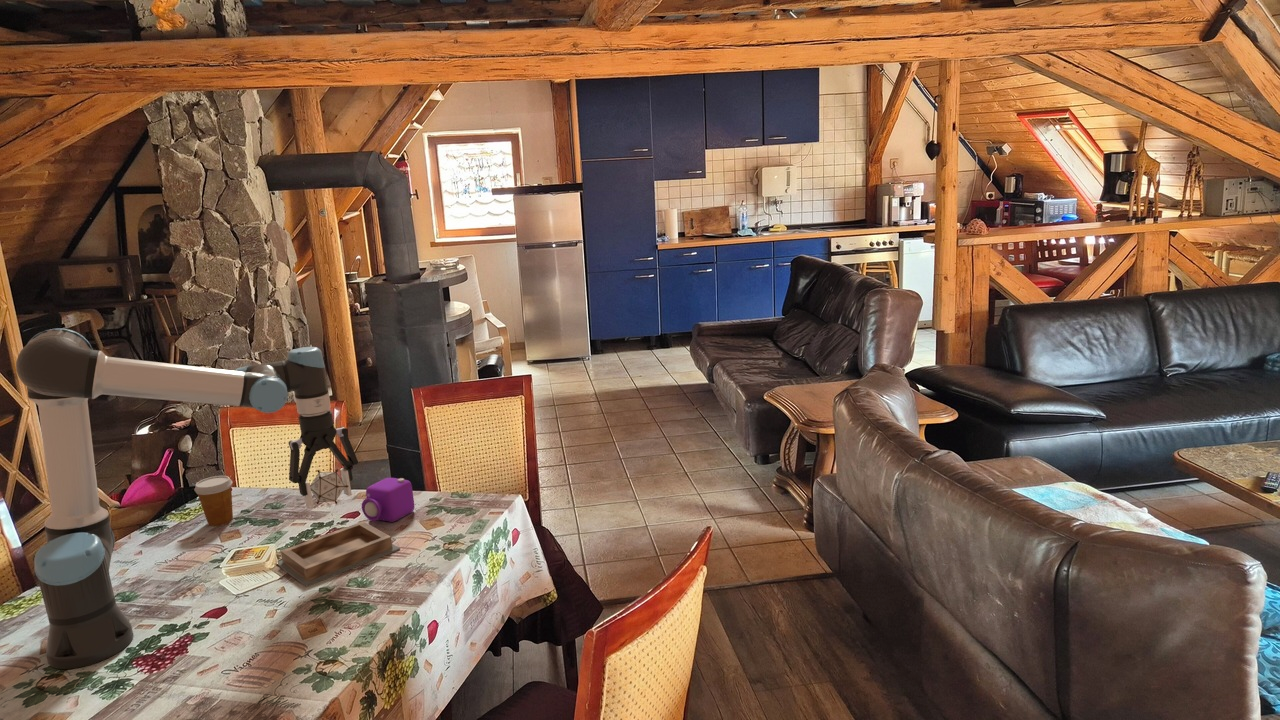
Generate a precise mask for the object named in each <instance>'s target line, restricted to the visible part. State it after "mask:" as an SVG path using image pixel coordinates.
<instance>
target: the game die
mask: <svg viewBox="0 0 1280 720" xmlns="http://www.w3.org/2000/svg"><path fill="white" fill-rule="evenodd" d="M316 472H317V475H316V477H315V478H314V479H313V481H312V482H311V483H310V488H311V494H312V495H313V496H314V497H315V498H316V505H319V503H322V502H323V503H324V502H325V503H326V502H327V503H328V502H334V504H336V505H338V501H337V499H338V498H339V497H340V495H341V494H342V492H344V490H343V489H344V488H345V487H348V485H346V486H345V485H344V483H343V482H342V478H341V477H340V476H339V473H338V472H339V468H338V469H335V471H322V472H321V471H320V470H319V469H317V470H316Z"/></svg>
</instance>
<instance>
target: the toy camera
mask: <svg viewBox="0 0 1280 720" xmlns="http://www.w3.org/2000/svg"><path fill="white" fill-rule="evenodd" d="M365 490H366V491H365V494H366V498H365V499H363V501H362V503H361V511H362V512H363V513H362V514H363V515H364V517H365V518H366V519H368V520H369V521H371V522H375V521H377V520H378V521H383V522H392V523H393V522H397V520H399V519H402V518H403V517H405V516H407V515H409V514H411V513H412V512H414V510H415V507H416V506H415V500H414V499H415V498H414V493H413V485H412V483H411V481H410V480H408V479H405V478H403V477H400V478H398V477H397V478H396V477H385V478H383V479H381V480H380V481H377V482H375V483H373V484H371V485H369V486H368V487H367V488H366V489H365Z"/></svg>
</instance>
